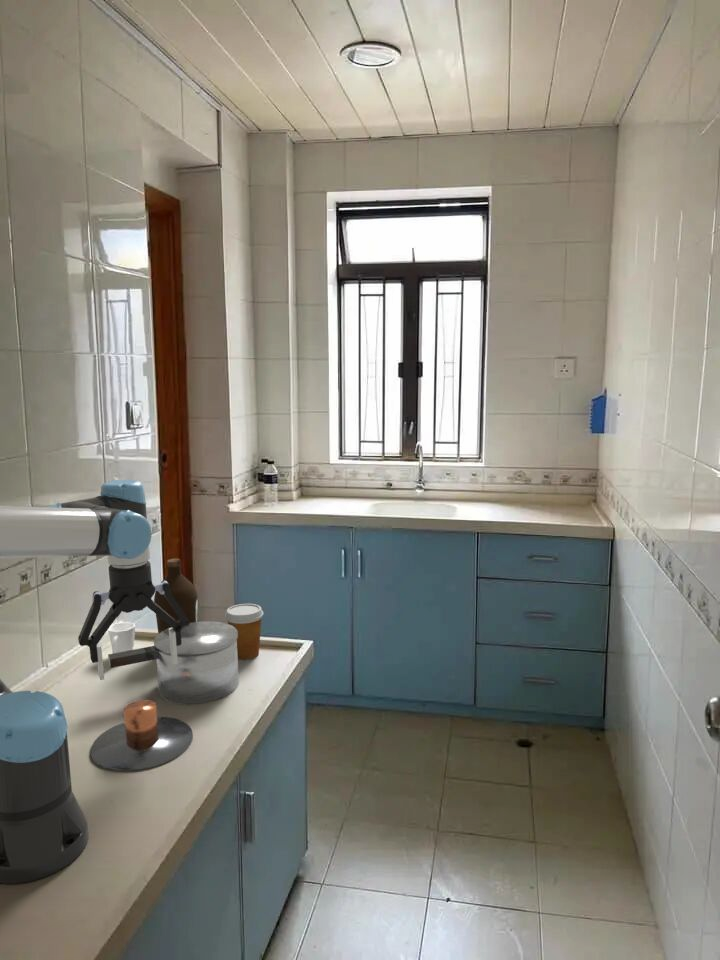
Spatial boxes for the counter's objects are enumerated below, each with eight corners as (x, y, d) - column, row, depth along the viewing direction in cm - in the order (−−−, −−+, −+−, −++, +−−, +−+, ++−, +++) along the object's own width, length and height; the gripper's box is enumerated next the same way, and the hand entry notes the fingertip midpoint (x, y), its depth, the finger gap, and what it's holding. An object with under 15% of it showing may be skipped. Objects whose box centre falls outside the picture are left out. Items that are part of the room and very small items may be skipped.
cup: (141, 650, 184) (139, 621, 183) (129, 667, 174) (127, 635, 173) (114, 651, 184) (112, 621, 183) (101, 667, 174) (98, 636, 173)
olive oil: (164, 667, 174) (157, 568, 170) (153, 652, 183) (146, 558, 179) (206, 657, 179) (201, 561, 175) (193, 643, 188) (187, 552, 184)
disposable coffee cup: (257, 663, 175) (255, 616, 173) (221, 660, 177) (218, 614, 175) (270, 648, 184) (268, 603, 182) (235, 646, 186) (233, 602, 184)
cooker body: (119, 723, 147) (114, 668, 145) (107, 687, 163) (103, 638, 161) (250, 692, 159) (248, 642, 157) (227, 662, 176) (224, 616, 174)
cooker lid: (97, 783, 126) (93, 742, 125) (86, 735, 143) (82, 698, 142) (203, 755, 134) (200, 716, 133) (181, 713, 151) (178, 677, 150)
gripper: (191, 548, 142) (198, 649, 145) (55, 568, 131) (67, 676, 134) (200, 557, 135) (207, 662, 139) (58, 578, 124) (70, 692, 128)
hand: (138, 669), depth 136 cm, fingers open, 13 cm apart
